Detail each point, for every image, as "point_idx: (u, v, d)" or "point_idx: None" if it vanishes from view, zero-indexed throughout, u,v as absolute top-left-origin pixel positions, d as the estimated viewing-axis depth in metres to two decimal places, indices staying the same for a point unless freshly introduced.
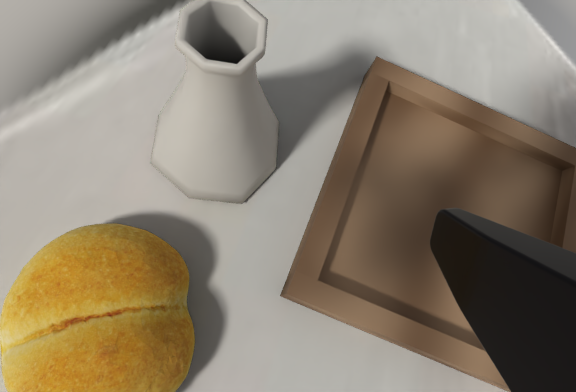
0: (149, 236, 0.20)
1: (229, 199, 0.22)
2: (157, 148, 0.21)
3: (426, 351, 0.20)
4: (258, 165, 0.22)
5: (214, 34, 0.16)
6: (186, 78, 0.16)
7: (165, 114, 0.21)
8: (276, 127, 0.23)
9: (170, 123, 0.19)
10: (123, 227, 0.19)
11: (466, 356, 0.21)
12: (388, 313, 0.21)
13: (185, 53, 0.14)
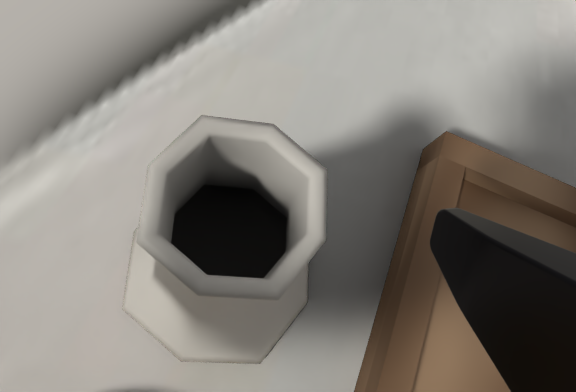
0: None
1: (242, 359, 0.15)
2: (130, 300, 0.14)
3: None
4: (284, 315, 0.14)
5: (219, 170, 0.09)
6: None
7: (141, 249, 0.13)
8: None
9: (147, 285, 0.12)
10: None
11: None
12: None
13: (160, 264, 0.06)
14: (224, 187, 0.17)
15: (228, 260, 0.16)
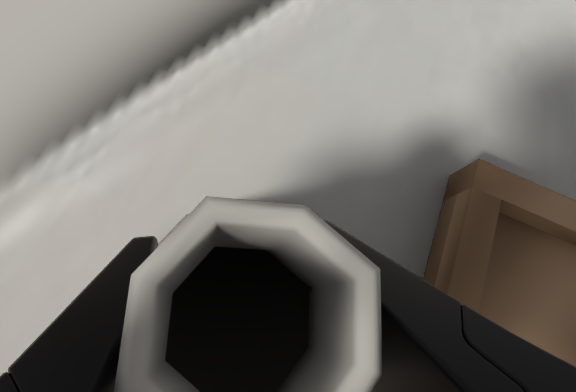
0: None
1: None
2: None
3: None
4: None
5: (228, 246, 0.07)
6: None
7: None
8: None
9: None
10: None
11: None
12: None
13: None
14: None
15: (234, 307, 0.14)
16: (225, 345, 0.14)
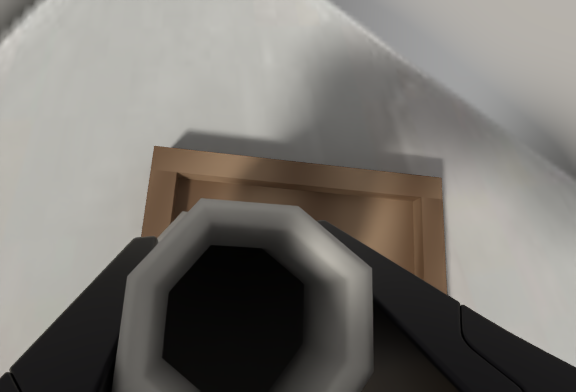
0: None
1: None
2: None
3: None
4: None
5: (222, 245, 0.07)
6: None
7: None
8: None
9: None
10: None
11: None
12: None
13: None
14: None
15: (230, 302, 0.15)
16: (222, 340, 0.14)
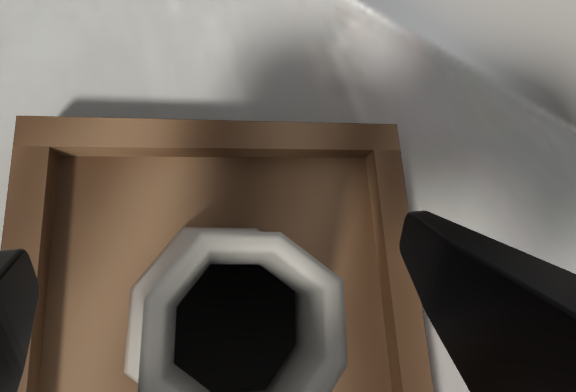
0: None
1: None
2: (132, 369, 0.13)
3: None
4: None
5: None
6: None
7: (140, 317, 0.13)
8: None
9: None
10: None
11: None
12: None
13: None
14: None
15: (231, 309, 0.16)
16: (225, 344, 0.15)
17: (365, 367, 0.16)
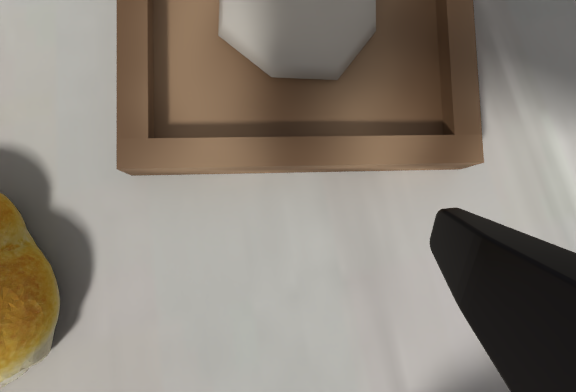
0: None
1: (322, 74, 0.18)
2: (228, 11, 0.16)
3: (308, 164, 0.17)
4: (359, 23, 0.16)
5: None
6: None
7: None
8: None
9: None
10: None
11: (357, 150, 0.17)
12: (248, 140, 0.17)
13: None
14: None
15: None
16: None
17: (418, 53, 0.19)
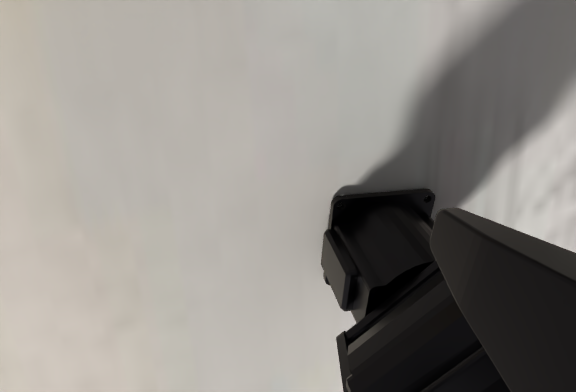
0: None
1: None
2: None
3: None
4: None
5: None
6: None
7: None
8: None
9: None
10: None
11: None
12: None
13: None
14: None
15: None
16: None
17: None
